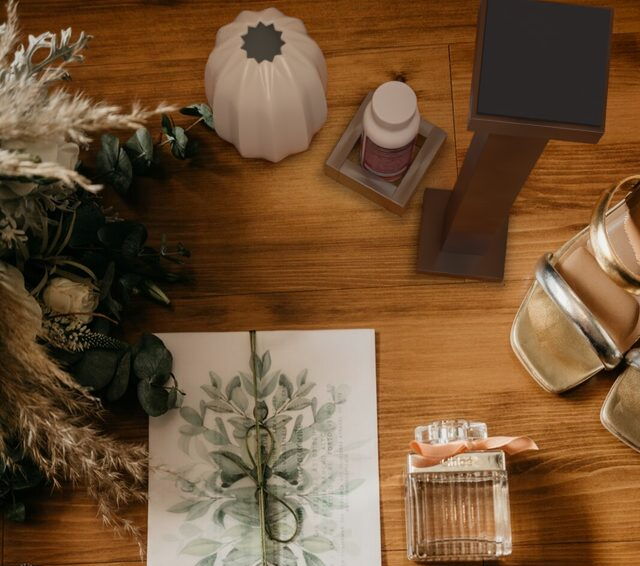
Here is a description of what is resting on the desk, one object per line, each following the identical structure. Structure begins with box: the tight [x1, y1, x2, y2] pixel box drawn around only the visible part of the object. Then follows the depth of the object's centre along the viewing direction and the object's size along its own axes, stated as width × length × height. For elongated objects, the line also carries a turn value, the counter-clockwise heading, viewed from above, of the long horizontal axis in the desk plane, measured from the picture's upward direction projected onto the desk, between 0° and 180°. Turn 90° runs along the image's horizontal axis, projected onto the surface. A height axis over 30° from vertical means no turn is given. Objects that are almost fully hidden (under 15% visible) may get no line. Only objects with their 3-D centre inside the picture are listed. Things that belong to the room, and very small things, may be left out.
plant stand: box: [415, 0, 615, 284], centre depth 69 cm, size 10×10×31 cm
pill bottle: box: [358, 80, 421, 183], centre depth 79 cm, size 6×6×11 cm
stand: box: [324, 89, 449, 218], centre depth 84 cm, size 10×10×2 cm
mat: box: [477, 0, 611, 127], centre depth 54 cm, size 9×9×1 cm
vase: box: [203, 6, 329, 163], centre depth 79 cm, size 14×14×13 cm
